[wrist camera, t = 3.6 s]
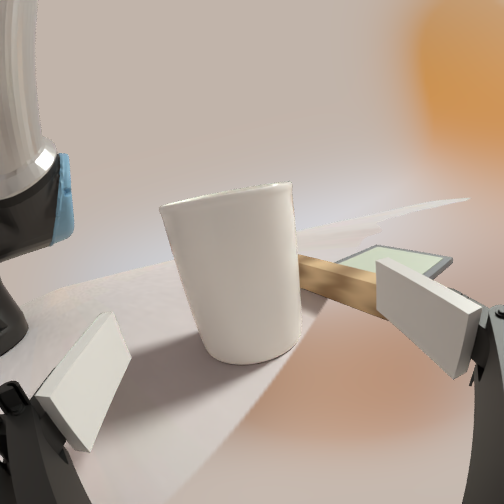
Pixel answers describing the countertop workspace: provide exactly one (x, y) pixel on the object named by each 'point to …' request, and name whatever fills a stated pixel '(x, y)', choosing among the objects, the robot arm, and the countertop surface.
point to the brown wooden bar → (339, 283)
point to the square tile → (399, 260)
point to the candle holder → (239, 270)
